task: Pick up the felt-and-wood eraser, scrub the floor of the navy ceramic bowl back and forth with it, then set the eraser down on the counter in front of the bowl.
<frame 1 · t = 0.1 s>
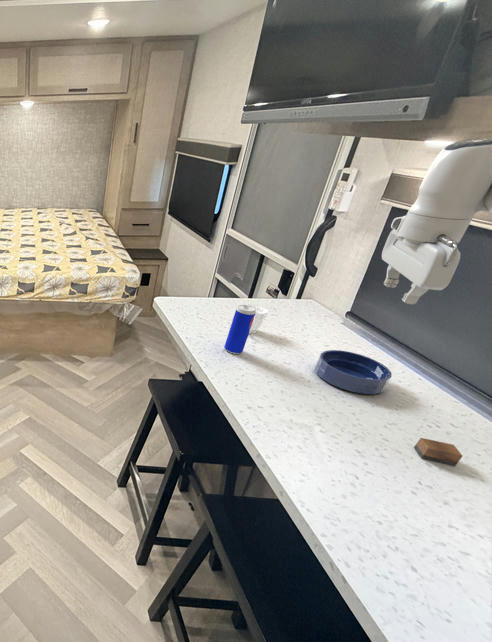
hand: (398, 294, 84), 32 cm above the worktop, tool pointing down, fingers open, 8 cm apart
cup: (248, 332, 136), on the worktop
eraser: (433, 456, 86), on the worktop
beverage can: (232, 351, 126), on the worktop
bowl: (347, 379, 112), on the worktop
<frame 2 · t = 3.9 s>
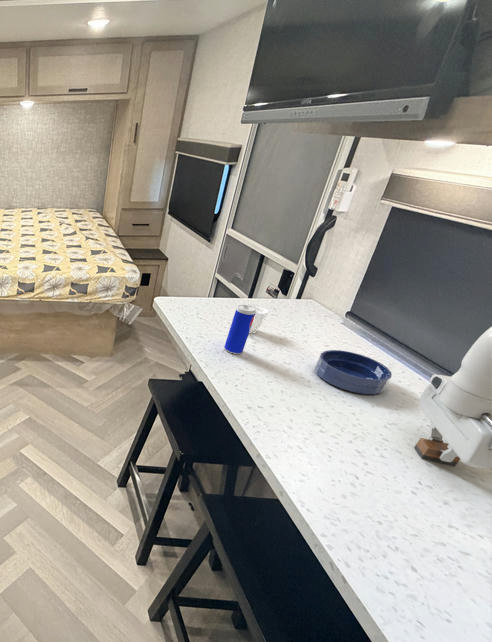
hand: (437, 451, 85), 2 cm above the worktop, tool pointing down, fingers closed on eraser, 3 cm apart
eraser: (433, 456, 86), on the worktop, touching gripper
everything else where it was.
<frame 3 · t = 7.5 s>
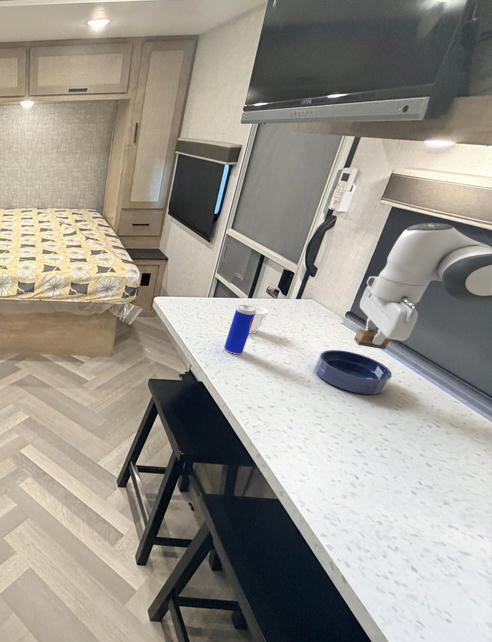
hand: (371, 338, 104), 14 cm above the worktop, tool pointing down, fingers closed on eraser, 3 cm apart
eraser: (368, 344, 104), point 12 cm above the worktop, touching gripper
everything else where it was.
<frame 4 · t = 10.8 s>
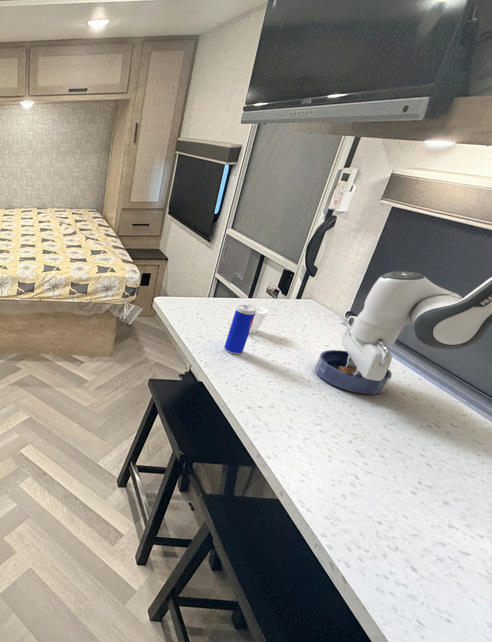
hand: (351, 375, 109), 2 cm above the worktop, tool pointing down, fingers closed on eraser, 3 cm apart
eraser: (349, 380, 110), point 1 cm above the worktop, touching bowl, gripper
everything else where it was.
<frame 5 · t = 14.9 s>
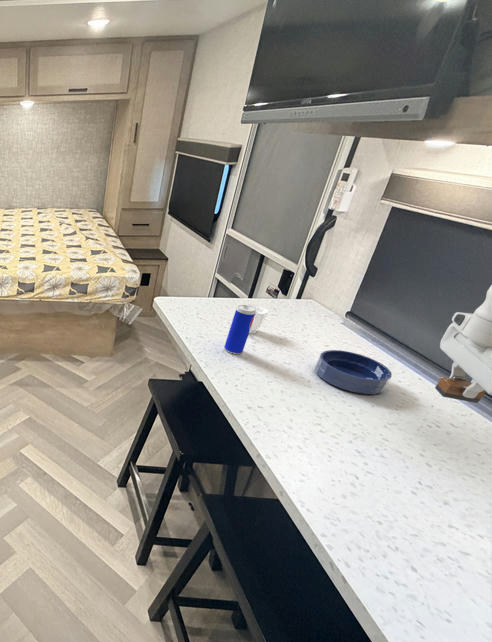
hand: (460, 389, 84), 14 cm above the worktop, tool pointing down, fingers closed on eraser, 3 cm apart
eraser: (455, 395, 85), point 12 cm above the worktop, touching gripper
everything else where it was.
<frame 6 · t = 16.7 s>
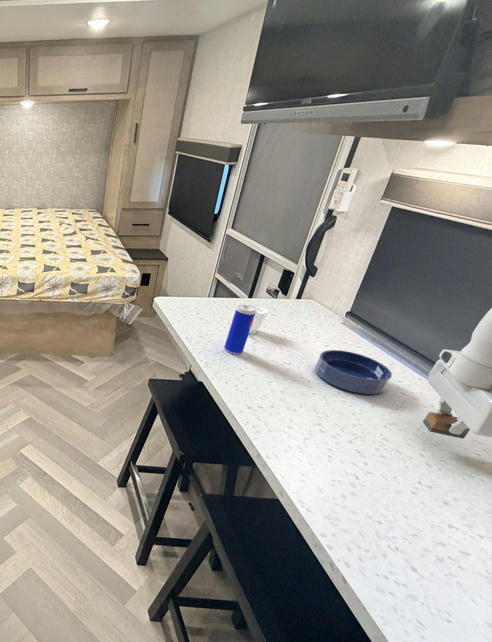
hand: (446, 424, 87), 6 cm above the worktop, tool pointing down, fingers closed on eraser, 3 cm apart
eraser: (442, 430, 88), point 4 cm above the worktop, touching gripper
everything else where it was.
when the fingers open (1 cm above the worktop, at t = 18.0 s): eraser stays where it is, on the worktop.
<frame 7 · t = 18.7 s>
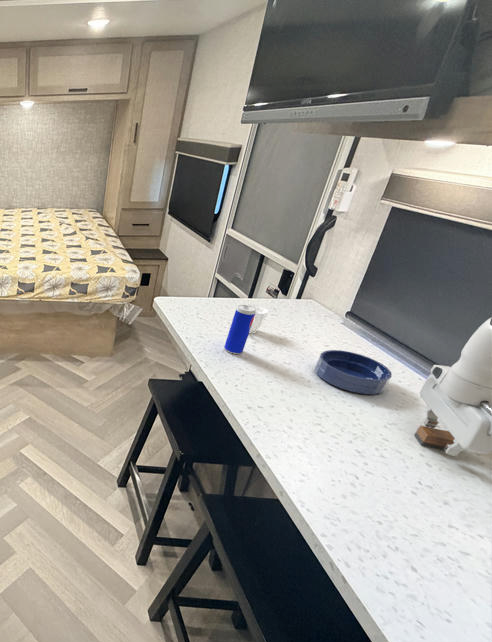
hand: (438, 438, 89), 2 cm above the worktop, tool pointing down, fingers open, 8 cm apart
eraser: (433, 443, 89), on the worktop
everything else where it was.
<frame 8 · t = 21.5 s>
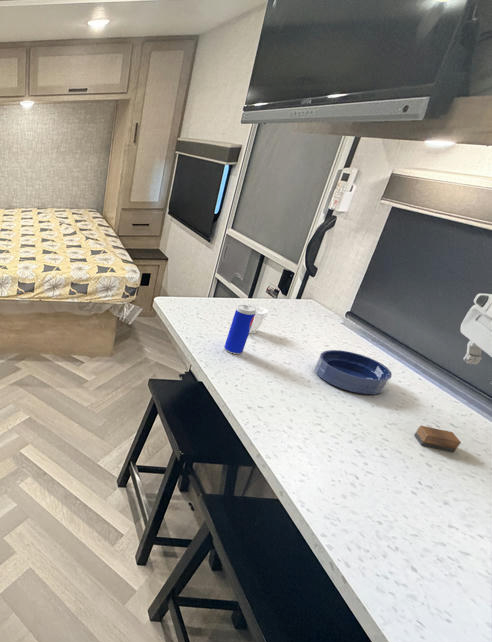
hand: (483, 374, 80), 19 cm above the worktop, tool pointing down, fingers open, 8 cm apart
nothing on the worktop moved.
at the end: eraser inside the target area on the worktop beside the bowl (0.2 cm from its centre), on the worktop; eraser tilted 0°; the gripper is holding nothing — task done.
